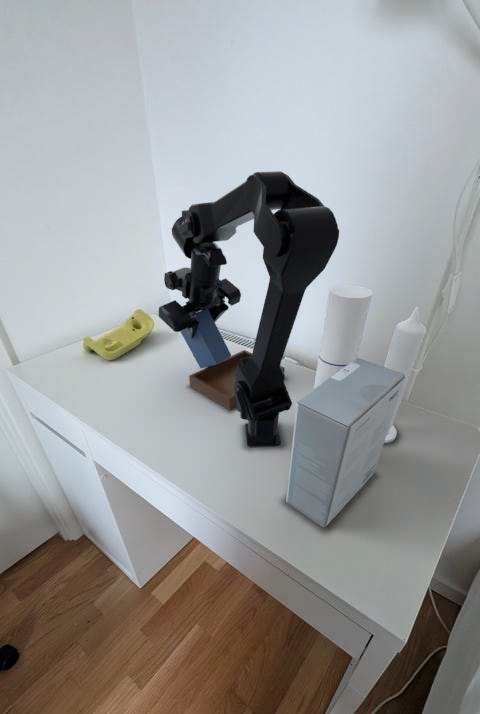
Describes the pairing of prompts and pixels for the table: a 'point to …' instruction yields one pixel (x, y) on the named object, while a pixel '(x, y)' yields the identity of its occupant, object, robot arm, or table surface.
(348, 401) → the hard drive box
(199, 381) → the tray
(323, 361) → the cylindrical container
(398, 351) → the white nozzle bottle
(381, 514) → the table surface
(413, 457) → the table surface
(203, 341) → the back pad
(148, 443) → the table surface
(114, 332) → the plastic component
